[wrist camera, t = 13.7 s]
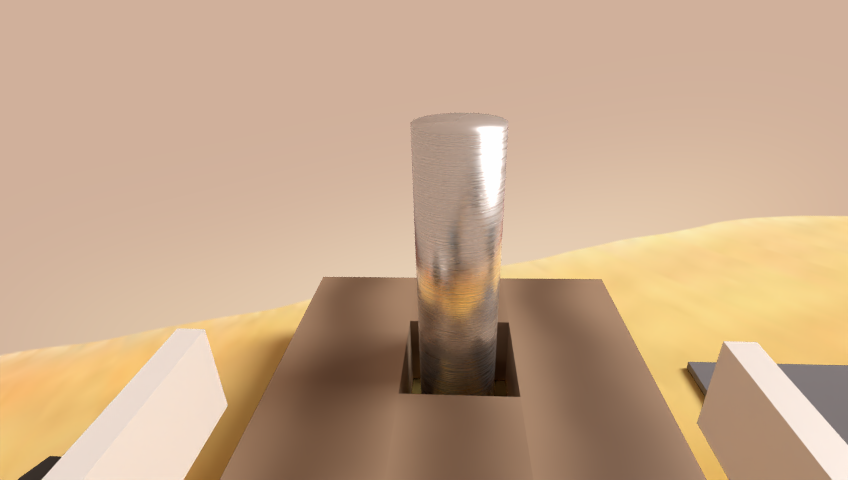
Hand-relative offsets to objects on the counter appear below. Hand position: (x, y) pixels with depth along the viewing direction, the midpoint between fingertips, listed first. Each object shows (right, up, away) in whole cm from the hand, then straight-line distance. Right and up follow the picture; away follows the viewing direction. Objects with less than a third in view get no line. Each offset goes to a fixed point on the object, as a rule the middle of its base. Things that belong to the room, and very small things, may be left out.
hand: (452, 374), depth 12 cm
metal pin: (+1, -5, +12) cm, 13 cm away
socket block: (+1, -5, +12) cm, 13 cm away
